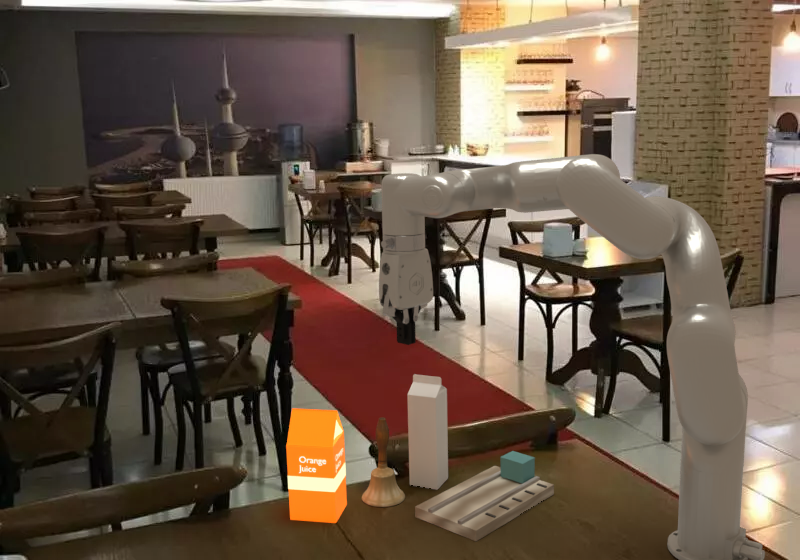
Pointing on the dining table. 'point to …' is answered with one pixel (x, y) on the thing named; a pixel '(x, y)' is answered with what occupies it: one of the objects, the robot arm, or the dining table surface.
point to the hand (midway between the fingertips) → (406, 342)
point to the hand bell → (382, 475)
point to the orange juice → (316, 465)
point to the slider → (517, 467)
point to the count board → (483, 503)
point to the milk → (427, 432)
